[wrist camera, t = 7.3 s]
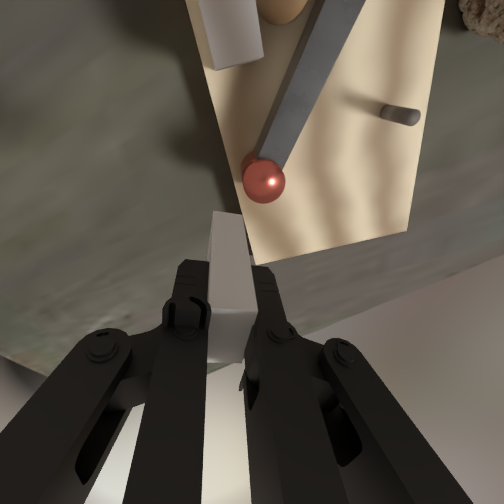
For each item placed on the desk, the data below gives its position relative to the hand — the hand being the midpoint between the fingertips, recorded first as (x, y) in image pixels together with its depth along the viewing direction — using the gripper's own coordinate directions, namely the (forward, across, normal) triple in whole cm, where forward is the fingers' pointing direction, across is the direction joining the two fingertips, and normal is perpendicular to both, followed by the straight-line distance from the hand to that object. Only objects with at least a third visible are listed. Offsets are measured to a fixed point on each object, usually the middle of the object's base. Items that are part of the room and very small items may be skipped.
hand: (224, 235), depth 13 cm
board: (+15, +8, +6) cm, 19 cm away
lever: (+13, +5, +7) cm, 16 cm away
